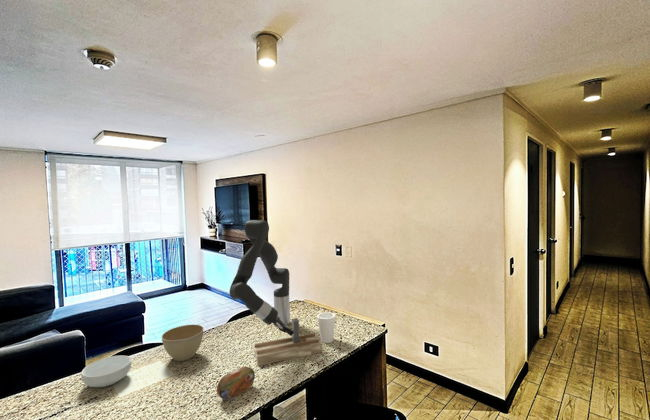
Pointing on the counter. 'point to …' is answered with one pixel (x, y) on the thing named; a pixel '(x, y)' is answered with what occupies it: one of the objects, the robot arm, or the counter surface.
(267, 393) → the counter surface
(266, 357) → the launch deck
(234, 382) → the tin
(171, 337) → the deep beige bowl
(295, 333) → the plunger
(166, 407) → the counter surface
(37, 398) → the counter surface
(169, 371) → the counter surface
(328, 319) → the foam cup
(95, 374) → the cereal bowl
